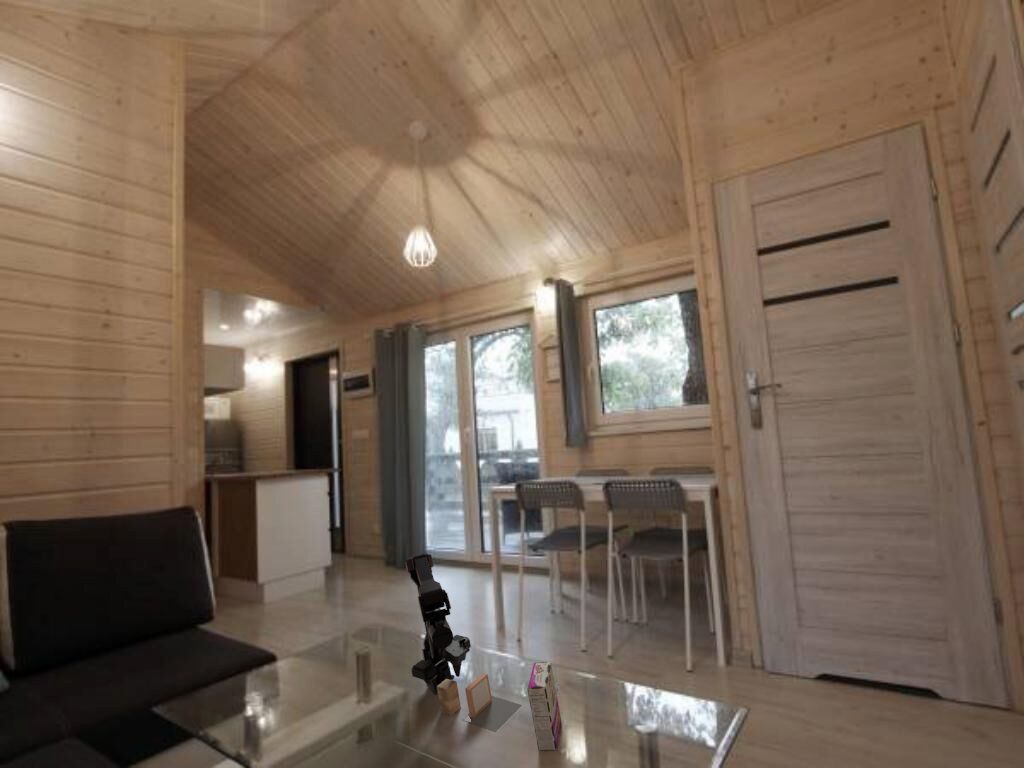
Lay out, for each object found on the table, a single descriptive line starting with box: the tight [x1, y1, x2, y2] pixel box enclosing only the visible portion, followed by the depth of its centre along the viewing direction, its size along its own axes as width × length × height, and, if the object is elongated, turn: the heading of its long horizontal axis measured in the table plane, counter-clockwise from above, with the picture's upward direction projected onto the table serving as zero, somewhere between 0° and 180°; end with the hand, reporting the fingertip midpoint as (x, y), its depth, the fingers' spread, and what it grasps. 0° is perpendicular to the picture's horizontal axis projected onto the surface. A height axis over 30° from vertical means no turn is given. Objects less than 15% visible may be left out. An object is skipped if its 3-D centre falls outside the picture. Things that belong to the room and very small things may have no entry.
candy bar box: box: [526, 661, 562, 752], centre depth 140 cm, size 11×5×16 cm, turn 168°
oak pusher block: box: [437, 679, 462, 716], centre depth 157 cm, size 4×4×8 cm
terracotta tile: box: [464, 672, 492, 718], centre depth 156 cm, size 2×8×8 cm, turn 142°
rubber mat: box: [467, 695, 522, 733], centre depth 153 cm, size 12×12×1 cm
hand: (446, 685), depth 157 cm, fingers open, 9 cm apart
